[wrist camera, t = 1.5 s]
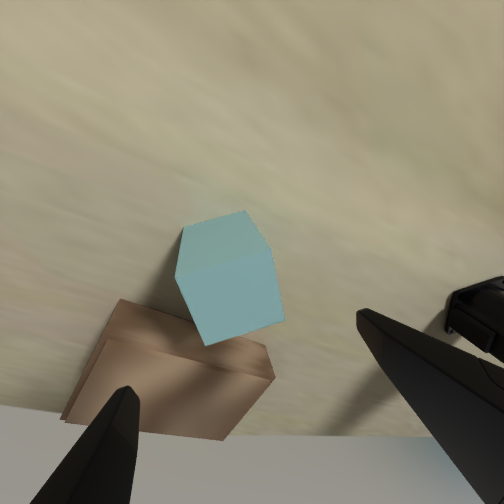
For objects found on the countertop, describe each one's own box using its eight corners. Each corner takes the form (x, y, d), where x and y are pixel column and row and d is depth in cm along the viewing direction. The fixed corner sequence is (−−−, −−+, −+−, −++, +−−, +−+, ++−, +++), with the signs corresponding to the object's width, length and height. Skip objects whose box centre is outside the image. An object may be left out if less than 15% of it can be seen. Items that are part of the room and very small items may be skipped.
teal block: (245, 210, 17) (271, 249, 11) (257, 262, 19) (285, 320, 13) (183, 226, 17) (174, 277, 10) (203, 278, 19) (205, 346, 13)
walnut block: (265, 345, 23) (276, 381, 20) (221, 402, 26) (224, 443, 22) (120, 298, 18) (100, 337, 14) (81, 375, 20) (56, 425, 17)
